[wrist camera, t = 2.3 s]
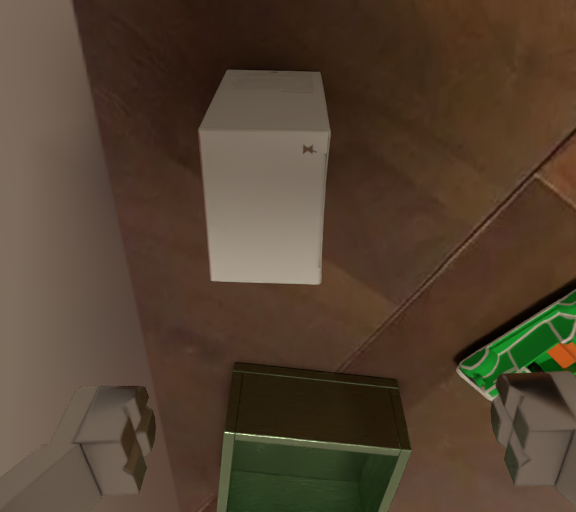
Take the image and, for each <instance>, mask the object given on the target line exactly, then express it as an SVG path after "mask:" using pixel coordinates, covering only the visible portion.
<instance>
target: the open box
mask: <svg viewBox="0 0 576 512" xmlns="http://www.w3.org/2000/svg"><path fill="white" fill-rule="evenodd" d="M411 452H412V448H411V444H410V439H409V434H408V430H407V425H406V421H405V416H404V411H403V407H402V402H401V398H400V393H399V388H398V384H397V380H393V379H383V378H374V377H365V376H356V375H346V374H337V373H328V372H318V371H309V370H300V369H291V368H281V367H272V366H263V365H253V364H244V363H234V370H233V376H232V382H231V389H230V395H229V402H228V408H227V415H226V421H225V428H224V436H223V447H222V458H221V469H220V480H219V491H218V502H217V512H388V510H389V508H390V505H391V503H392V500H393V498H394V495H395V493H396V490H397V488H398V485H399V483H400V480H401V478H402V475H403V473H404V470H405V468H406V465H407V463H408V460H409V458H410V455H411Z"/></svg>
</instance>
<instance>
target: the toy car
mask: <svg viewBox="0 0 576 512" xmlns="http://www.w3.org/2000/svg"><path fill="white" fill-rule="evenodd" d="M456 371H457V373H458V374H459V375H460V376H461V377H462V378H463V379H464V380H466V381H467V382H468V383H469V384H470V385H471V386H473V387H474V388H475V389H476V390H477V391H478V392H480V393H481V394H482V395H483V396H484V397H485V398H487V399H488V400H490V401H492V400H493V399H494V398H495V397H497V396H498V395H499V393H498V391H497V389H496V381H497V378H498V376H499V375H500V374H507V373H531V372H556V371H570V372H571V373H573V374H574V375H575V374H576V284H574V285H571V286H569V287H568V288H566V289H564V291H563V292H562V293H561V295H560V298H559V300H557V301H556V302H554V303H553V304H551V305H549V306H548V307H546V308H545V309H543V310H542V311H540V312H538V313H537V314H535V315H534V316H532V317H530V318H529V319H527V320H526V321H524V322H523V323H521V324H519V325H518V326H516V327H515V328H513V329H511V330H510V331H508V332H507V333H505V334H503V335H502V336H500V337H499V338H497V339H496V340H494V341H492V342H491V343H489V344H488V345H486V346H485V347H482V346H476V347H473V348H472V349H470V350H469V351H468V352H467V353H466V355H465V357H464V360H462V361H461V362H460V363H459V366H458V367H457V368H456Z"/></svg>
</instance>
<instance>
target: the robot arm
mask: <svg viewBox="0 0 576 512" xmlns="http://www.w3.org/2000/svg"><path fill="white" fill-rule="evenodd" d="M496 389H497V391H498V393H499V395H498V396H497V397H495V398H494V399H493V400H492V406H491V423H492V427H493V431H494V434H495V437H496V439H497V442H498V443H500V444H501V445H502V446H503V447H505V448H506V454H505V458H504V460H505V462H506V465H507V467H508V470H509V472H510V475H511V477H512V480H513V482H514V485H515V486H556V487H555V489H556V490H557V491H559V492H560V493H561V494H562V495H563V496H564V497H565V498H566V499H567V500H568V501H569V502H570V503H571V504H572V505H573V506H574V507H575V508H576V377H575V376H574V374H573V373H571V372H570V371H556V372H531V373H507V374H500V375H499V376H498V378H497V381H496ZM148 398H149V396H148V393H147V391H146V388H145V387H144V386H101V387H80V388H79V389H78V390H76V391H75V393H74V395H73V397H72V399H71V401H70V403H69V405H68V407H67V409H66V411H65V413H64V415H63V417H62V419H61V421H60V423H59V425H58V427H57V429H56V431H55V433H54V435H53V437H52V439H51V441H50V443H49V444H44V445H41V446H40V447H39V448H37V449H36V450H35V451H34V452H32V453H31V454H30V455H28V456H27V457H26V458H25V459H23V460H22V461H21V462H20V463H18V464H17V465H16V466H14V467H13V468H12V469H11V470H9V471H8V472H7V473H6V474H4V475H3V476H2V477H0V512H90V511H91V510H92V509H93V508H94V507H95V506H96V505H97V503H98V502H99V501H100V500H101V499H102V496H108V495H128V494H139V492H140V489H141V485H142V482H143V478H144V475H145V472H146V468H147V467H146V464H145V461H144V458H145V457H146V456H147V455H148V454H149V453H150V452H151V451H152V447H153V444H154V440H155V429H156V425H155V417H154V413H153V410H152V409H150V408H149V407H148V406H147V405H146V404H147V401H148Z"/></svg>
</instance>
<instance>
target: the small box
mask: <svg viewBox="0 0 576 512" xmlns="http://www.w3.org/2000/svg"><path fill="white" fill-rule="evenodd" d="M330 137H331V130H330V126H329V119H328V114H327V106H326V100H325V94H324V88H323V82H322V78H321V73H320V72H304V71H266V70H227V71H226V73H225V75H224V77H223V79H222V81H221V83H220V85H219V87H218V89H217V91H216V94H215V96H214V98H213V100H212V102H211V104H210V106H209V108H208V110H207V112H206V114H205V117H204V119H203V121H202V123H201V125H200V127H199V128H198V138H199V150H200V162H201V174H202V186H203V198H204V209H205V222H206V233H207V245H208V258H209V268H210V280H211V281H224V282H255V283H289V284H314V285H318V284H320V283H321V280H322V274H321V267H322V239H323V221H324V205H325V189H326V175H327V164H328V154H329V145H330Z"/></svg>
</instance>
